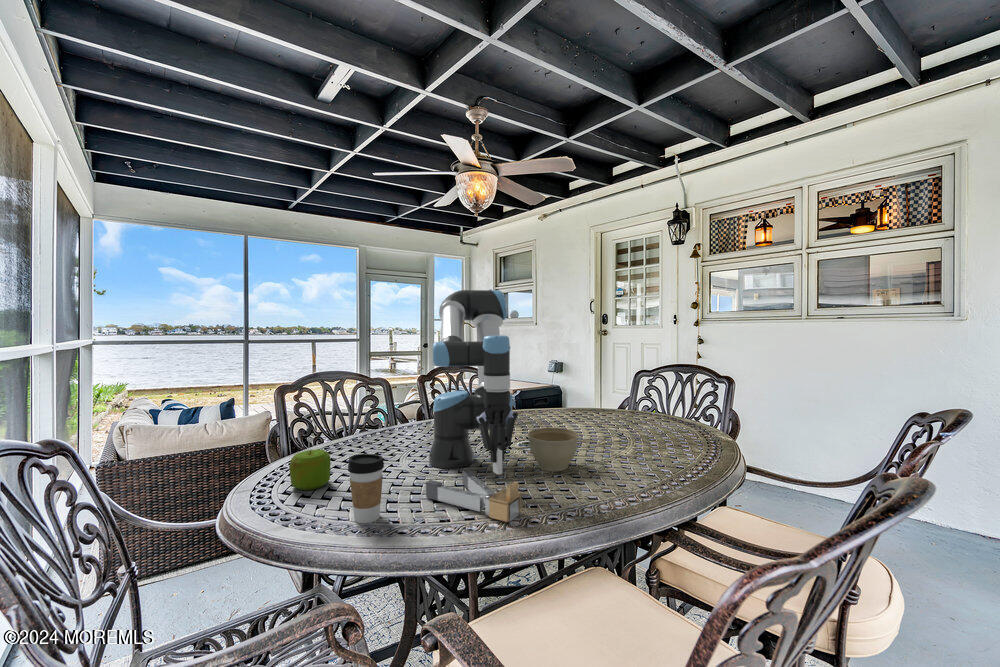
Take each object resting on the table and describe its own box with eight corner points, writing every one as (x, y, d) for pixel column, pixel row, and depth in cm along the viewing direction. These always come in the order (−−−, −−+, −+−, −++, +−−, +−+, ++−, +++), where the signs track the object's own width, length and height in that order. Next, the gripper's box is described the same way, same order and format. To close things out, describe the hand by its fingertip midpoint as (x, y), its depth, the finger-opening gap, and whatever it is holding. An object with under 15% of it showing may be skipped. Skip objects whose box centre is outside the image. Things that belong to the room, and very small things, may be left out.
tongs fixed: (518, 514, 109) (518, 496, 109) (510, 521, 105) (509, 502, 105) (436, 493, 122) (436, 477, 122) (426, 498, 119) (425, 482, 118)
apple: (322, 476, 136) (321, 441, 136) (337, 485, 128) (337, 448, 128) (284, 486, 128) (283, 449, 128) (298, 497, 121) (297, 457, 120)
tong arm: (494, 506, 113) (494, 489, 113) (488, 507, 112) (488, 491, 112) (468, 483, 128) (468, 469, 128) (462, 484, 128) (462, 470, 127)
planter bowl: (521, 472, 139) (521, 437, 138) (536, 456, 153) (536, 425, 153) (572, 479, 132) (572, 443, 132) (583, 462, 147) (583, 430, 147)
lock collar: (521, 511, 110) (520, 480, 109) (507, 522, 104) (507, 489, 104) (503, 506, 112) (503, 476, 112) (489, 517, 107) (489, 485, 106)
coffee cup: (353, 511, 111) (352, 452, 111) (387, 509, 112) (386, 451, 112) (344, 526, 103) (343, 463, 103) (381, 525, 104) (380, 462, 103)
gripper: (509, 386, 132) (509, 465, 132) (470, 390, 125) (471, 473, 125) (523, 389, 125) (524, 472, 126) (483, 393, 118) (484, 481, 119)
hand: (497, 472), depth 125 cm, fingers closed
